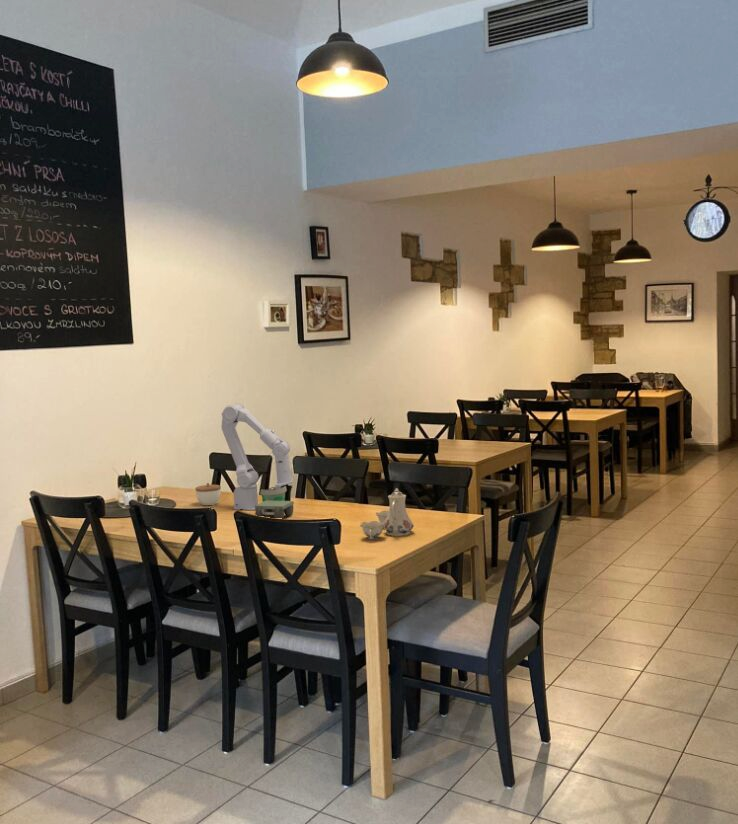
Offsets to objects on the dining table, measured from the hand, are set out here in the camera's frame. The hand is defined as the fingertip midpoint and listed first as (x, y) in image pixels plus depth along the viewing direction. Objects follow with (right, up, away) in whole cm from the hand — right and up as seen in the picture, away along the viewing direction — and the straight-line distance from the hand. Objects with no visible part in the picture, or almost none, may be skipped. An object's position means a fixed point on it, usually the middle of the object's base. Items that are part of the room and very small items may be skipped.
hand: (286, 503), depth 336 cm
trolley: (-3, -4, -17) cm, 18 cm away
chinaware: (+42, -5, -49) cm, 65 cm away
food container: (-3, -3, -6) cm, 7 cm away
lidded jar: (-35, -3, +15) cm, 38 cm away
